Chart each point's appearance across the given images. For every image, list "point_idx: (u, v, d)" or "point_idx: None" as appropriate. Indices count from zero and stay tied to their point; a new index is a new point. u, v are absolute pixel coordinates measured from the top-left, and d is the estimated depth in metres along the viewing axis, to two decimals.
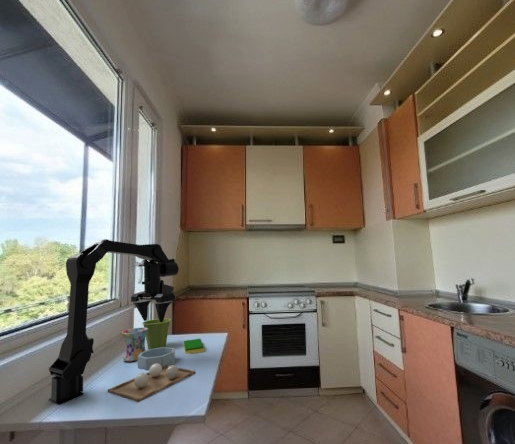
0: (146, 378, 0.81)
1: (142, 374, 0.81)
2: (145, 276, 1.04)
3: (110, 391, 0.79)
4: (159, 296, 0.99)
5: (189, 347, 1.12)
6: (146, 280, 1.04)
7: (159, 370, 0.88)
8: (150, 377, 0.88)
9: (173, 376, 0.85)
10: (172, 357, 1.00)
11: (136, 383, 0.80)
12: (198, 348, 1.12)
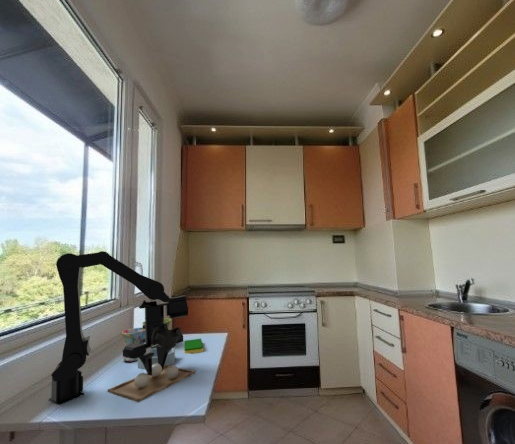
0: (146, 378, 0.81)
1: (142, 374, 0.81)
2: (145, 319, 0.90)
3: (110, 391, 0.79)
4: None
5: (189, 347, 1.12)
6: None
7: (159, 370, 0.88)
8: (150, 377, 0.88)
9: (173, 376, 0.85)
10: (172, 357, 1.00)
11: (136, 383, 0.80)
12: (197, 348, 1.12)
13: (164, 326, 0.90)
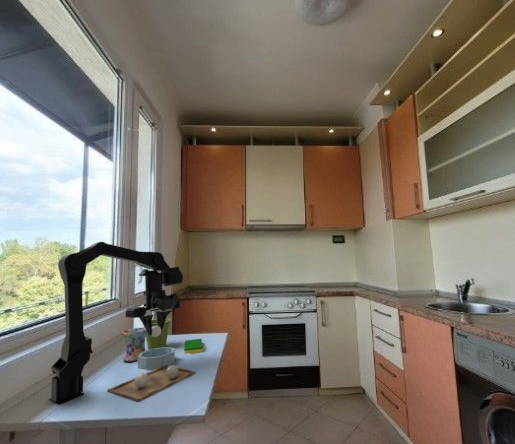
0: (146, 378, 0.81)
1: (142, 374, 0.81)
2: (146, 286, 0.99)
3: (110, 391, 0.79)
4: None
5: (188, 347, 1.12)
6: None
7: (158, 331, 0.98)
8: (150, 377, 0.88)
9: (173, 376, 0.85)
10: (172, 357, 1.00)
11: (136, 383, 0.80)
12: (197, 348, 1.12)
13: (162, 292, 1.00)
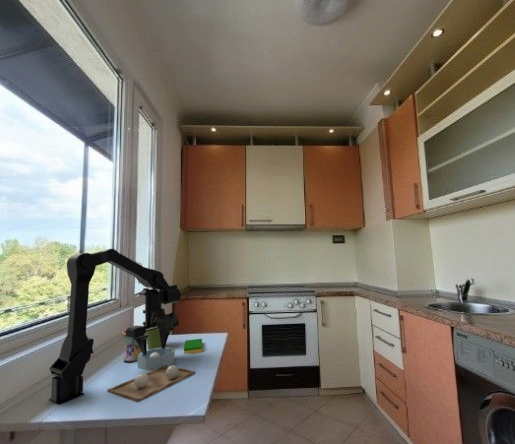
0: (146, 378, 0.81)
1: (142, 374, 0.81)
2: (146, 305, 1.01)
3: (110, 391, 0.79)
4: None
5: (188, 347, 1.12)
6: None
7: None
8: (150, 377, 0.88)
9: (173, 376, 0.85)
10: (172, 357, 1.00)
11: (136, 383, 0.80)
12: (196, 348, 1.11)
13: (162, 311, 1.02)
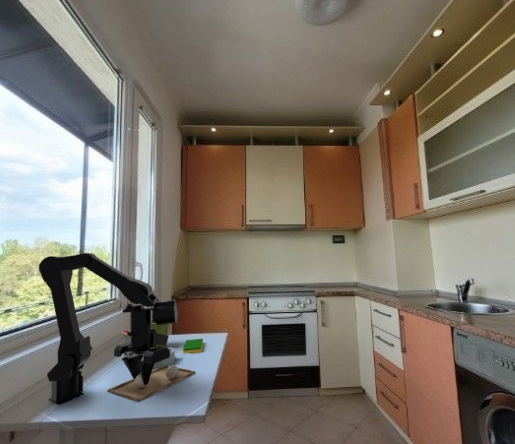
0: None
1: None
2: None
3: (110, 391, 0.79)
4: (149, 355, 0.76)
5: (187, 347, 1.13)
6: (132, 330, 0.81)
7: None
8: (150, 377, 0.88)
9: (173, 376, 0.85)
10: (172, 357, 1.00)
11: (136, 383, 0.80)
12: (196, 348, 1.11)
13: None
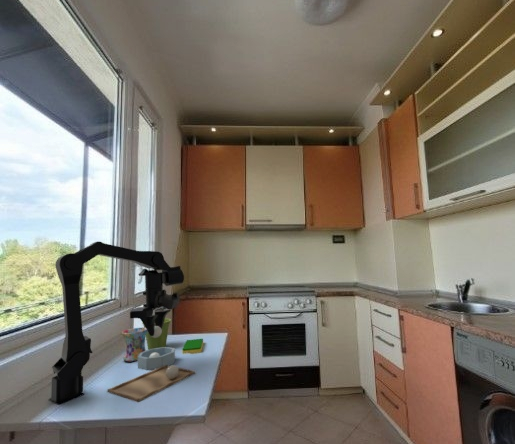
0: None
1: None
2: (145, 286, 0.98)
3: (110, 391, 0.79)
4: None
5: (187, 347, 1.13)
6: None
7: None
8: (150, 377, 0.88)
9: (173, 376, 0.85)
10: (172, 357, 1.00)
11: None
12: (195, 348, 1.11)
13: (164, 292, 1.00)
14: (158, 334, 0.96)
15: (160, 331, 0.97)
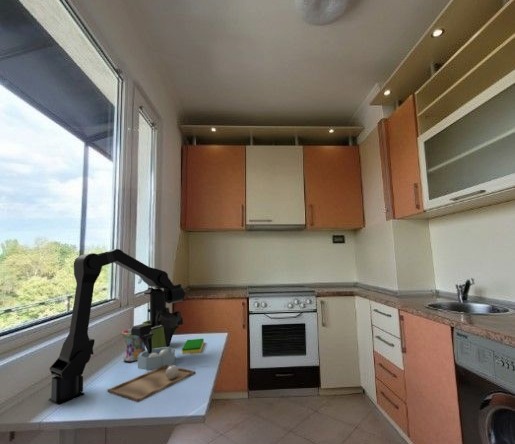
0: None
1: None
2: (151, 304, 1.03)
3: (110, 391, 0.79)
4: None
5: (186, 347, 1.13)
6: None
7: None
8: (150, 377, 0.88)
9: (173, 376, 0.85)
10: (172, 357, 1.00)
11: None
12: (195, 349, 1.11)
13: (166, 310, 1.04)
14: (166, 352, 1.03)
15: None
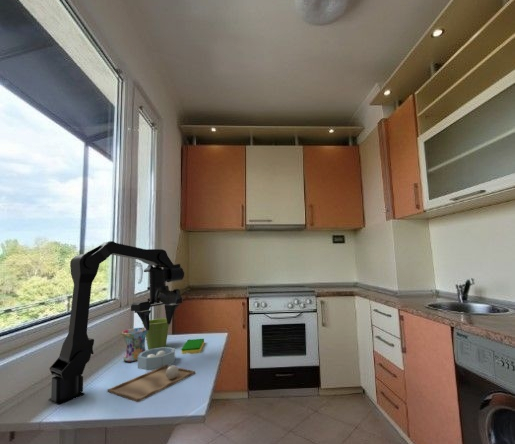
0: (163, 351, 1.02)
1: None
2: (150, 282, 1.04)
3: (110, 391, 0.79)
4: None
5: (186, 347, 1.13)
6: None
7: None
8: (150, 377, 0.88)
9: (173, 376, 0.85)
10: (172, 357, 1.00)
11: None
12: (194, 349, 1.11)
13: (166, 287, 1.05)
14: None
15: None
